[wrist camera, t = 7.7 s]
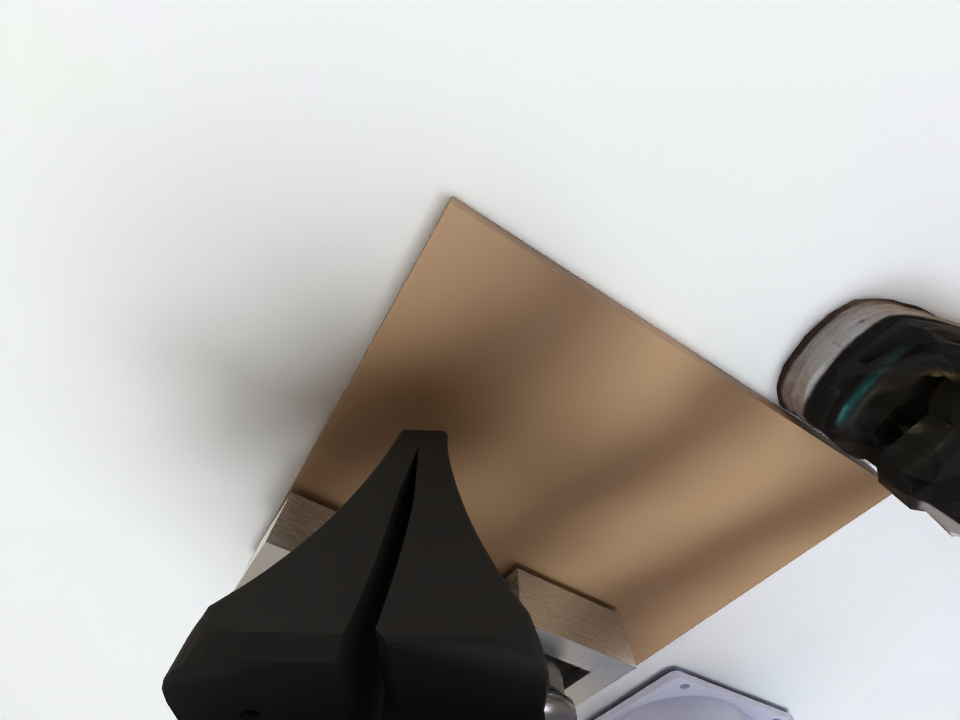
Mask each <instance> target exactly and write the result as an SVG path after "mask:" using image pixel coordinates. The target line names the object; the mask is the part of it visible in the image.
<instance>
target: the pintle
mask: <svg viewBox="0 0 960 720" xmlns="http://www.w3.org/2000/svg"><path fill="white" fill-rule="evenodd" d="M545 658H546V662H547V666H548V671H549V690H548V695H547V700H546V705H545V709H544V712H545V720H577V716H576V710H575V704H574V702H573V700H572V699H571V698H569V697H568V696H566V695H565V692H564V685H563V679H562V672H561V665H560V660H559V659H557V658H554V657H552V656H549V655H546V654H545Z"/></svg>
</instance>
